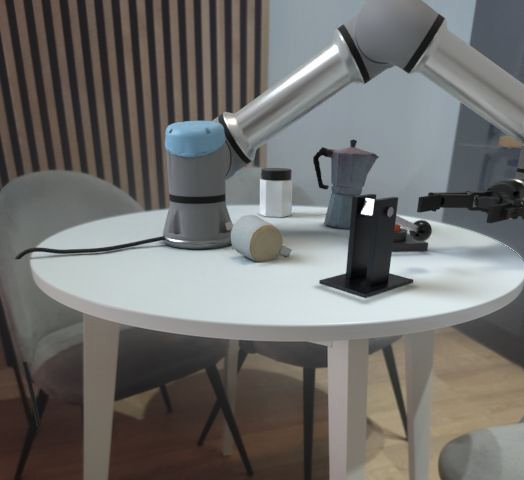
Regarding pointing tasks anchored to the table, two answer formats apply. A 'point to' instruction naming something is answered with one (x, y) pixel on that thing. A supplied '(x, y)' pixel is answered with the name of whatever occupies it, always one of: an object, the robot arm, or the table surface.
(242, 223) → the ceramic mug
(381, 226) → the bracket
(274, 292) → the table surface
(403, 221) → the lever
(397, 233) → the control block
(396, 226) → the button
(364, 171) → the moka pot
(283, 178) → the jar
